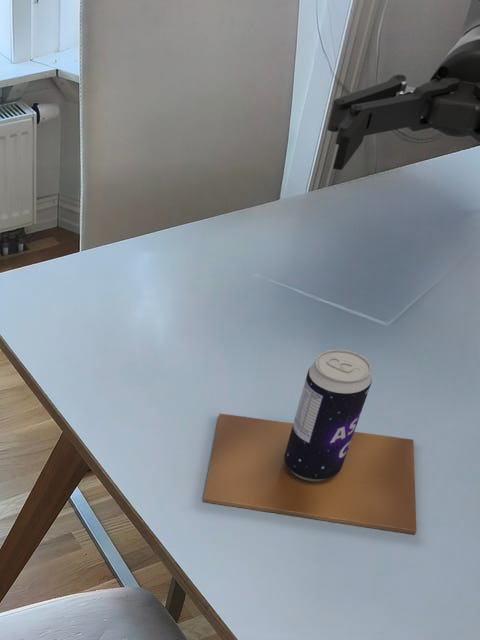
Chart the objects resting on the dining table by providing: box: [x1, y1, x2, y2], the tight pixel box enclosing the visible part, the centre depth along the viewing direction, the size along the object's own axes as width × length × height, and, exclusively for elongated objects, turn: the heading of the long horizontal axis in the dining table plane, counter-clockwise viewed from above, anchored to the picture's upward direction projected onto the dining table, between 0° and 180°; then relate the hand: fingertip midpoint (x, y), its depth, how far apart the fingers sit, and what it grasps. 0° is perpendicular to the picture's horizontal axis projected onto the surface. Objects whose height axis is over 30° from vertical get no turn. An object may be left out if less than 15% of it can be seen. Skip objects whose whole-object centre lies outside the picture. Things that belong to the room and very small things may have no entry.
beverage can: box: [284, 349, 373, 481], centre depth 84 cm, size 6×6×12 cm
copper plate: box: [202, 413, 417, 535], centre depth 89 cm, size 20×14×1 cm
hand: (420, 168), depth 75 cm, fingers open, 13 cm apart
